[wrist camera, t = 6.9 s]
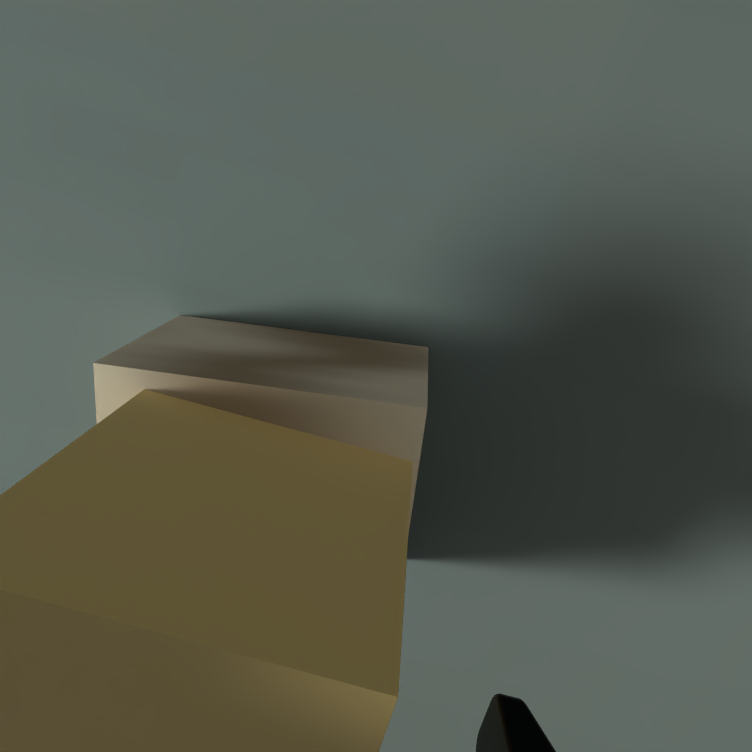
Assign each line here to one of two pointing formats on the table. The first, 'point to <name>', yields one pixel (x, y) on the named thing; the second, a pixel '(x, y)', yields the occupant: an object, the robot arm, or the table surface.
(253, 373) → the birch base block
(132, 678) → the ochre block
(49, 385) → the table surface
